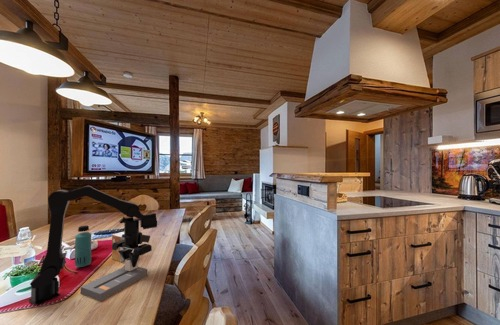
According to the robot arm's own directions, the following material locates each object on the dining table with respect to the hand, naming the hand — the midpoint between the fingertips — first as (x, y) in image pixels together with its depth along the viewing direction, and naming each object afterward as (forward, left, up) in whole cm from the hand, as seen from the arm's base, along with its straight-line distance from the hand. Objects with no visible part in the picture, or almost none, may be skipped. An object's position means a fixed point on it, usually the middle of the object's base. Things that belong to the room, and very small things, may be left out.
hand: (131, 266), depth 93 cm
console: (-7, 0, -4) cm, 8 cm away
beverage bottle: (-4, +29, -4) cm, 30 cm away
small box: (+10, +21, -4) cm, 24 cm away
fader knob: (0, 0, -2) cm, 2 cm away
